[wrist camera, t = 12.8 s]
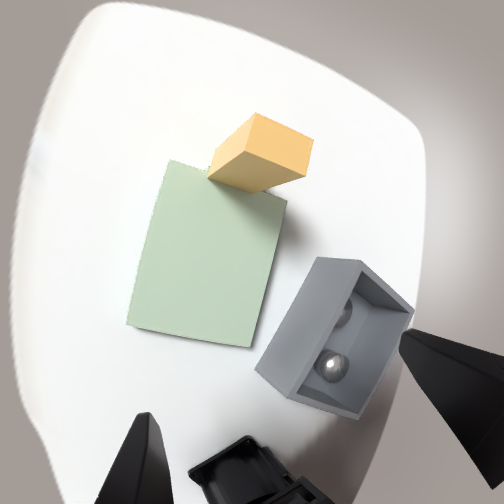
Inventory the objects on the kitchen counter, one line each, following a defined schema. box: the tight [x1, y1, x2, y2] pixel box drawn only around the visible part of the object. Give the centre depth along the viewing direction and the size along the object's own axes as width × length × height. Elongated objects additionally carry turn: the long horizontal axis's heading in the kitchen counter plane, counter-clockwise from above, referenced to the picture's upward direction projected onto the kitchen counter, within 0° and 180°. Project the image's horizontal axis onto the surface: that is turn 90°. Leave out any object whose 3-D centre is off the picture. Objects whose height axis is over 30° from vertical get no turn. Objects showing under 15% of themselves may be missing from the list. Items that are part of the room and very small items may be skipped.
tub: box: [254, 257, 415, 420], centre depth 22 cm, size 10×8×5 cm
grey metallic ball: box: [313, 349, 349, 383], centre depth 23 cm, size 2×2×2 cm
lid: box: [126, 113, 314, 347], centre depth 16 cm, size 12×8×8 cm
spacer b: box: [335, 298, 353, 327], centre depth 23 cm, size 2×2×2 cm
